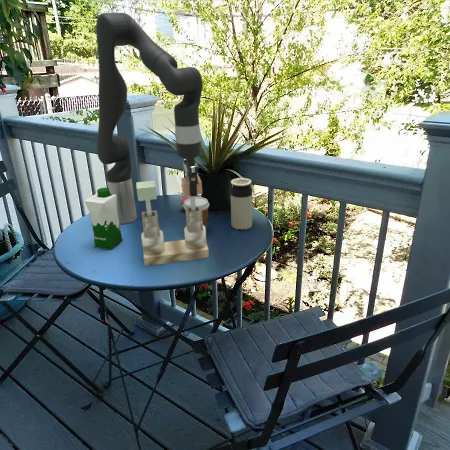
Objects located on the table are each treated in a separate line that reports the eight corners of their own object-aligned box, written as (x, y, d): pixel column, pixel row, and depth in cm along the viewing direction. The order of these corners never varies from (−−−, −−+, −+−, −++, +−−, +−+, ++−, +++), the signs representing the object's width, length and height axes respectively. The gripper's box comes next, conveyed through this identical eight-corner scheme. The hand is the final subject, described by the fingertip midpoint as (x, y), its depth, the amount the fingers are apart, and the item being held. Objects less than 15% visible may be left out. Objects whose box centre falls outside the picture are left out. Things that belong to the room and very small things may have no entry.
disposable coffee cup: (207, 237, 145) (205, 207, 140) (182, 236, 147) (179, 206, 142) (213, 226, 154) (211, 197, 148) (189, 224, 155) (187, 196, 150)
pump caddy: (144, 266, 129) (138, 221, 122) (144, 252, 137) (138, 209, 130) (209, 257, 133) (206, 213, 126) (204, 244, 141) (201, 202, 134)
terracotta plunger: (186, 216, 126) (183, 183, 122) (183, 209, 131) (181, 177, 127) (203, 214, 127) (201, 181, 123) (200, 207, 132) (198, 176, 128)
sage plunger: (141, 221, 124) (136, 188, 119) (140, 214, 129) (136, 182, 124) (159, 219, 125) (155, 186, 120) (158, 212, 130) (154, 180, 125)
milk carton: (126, 239, 146) (118, 188, 137) (111, 251, 138) (102, 198, 129) (106, 236, 149) (96, 186, 140) (90, 248, 141) (79, 195, 132)
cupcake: (184, 216, 163) (182, 188, 157) (178, 208, 170) (175, 181, 164) (204, 212, 166) (202, 184, 160) (197, 204, 173) (195, 178, 167)
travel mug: (252, 230, 150) (252, 184, 142) (231, 230, 150) (230, 185, 142) (251, 220, 157) (251, 177, 149) (231, 221, 157) (230, 177, 149)
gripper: (204, 144, 113) (207, 198, 121) (197, 133, 126) (200, 183, 133) (178, 146, 112) (183, 201, 119) (173, 135, 125) (177, 185, 132)
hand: (192, 191), depth 126 cm, fingers open, 6 cm apart
